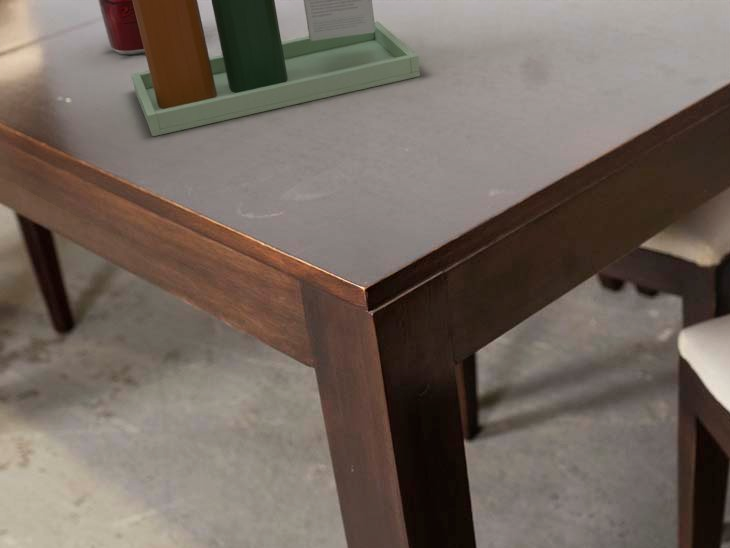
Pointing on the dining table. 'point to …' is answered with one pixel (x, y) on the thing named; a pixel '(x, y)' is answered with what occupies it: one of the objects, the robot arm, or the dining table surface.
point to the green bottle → (250, 43)
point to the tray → (290, 79)
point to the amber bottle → (175, 51)
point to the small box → (338, 18)
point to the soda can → (122, 26)
